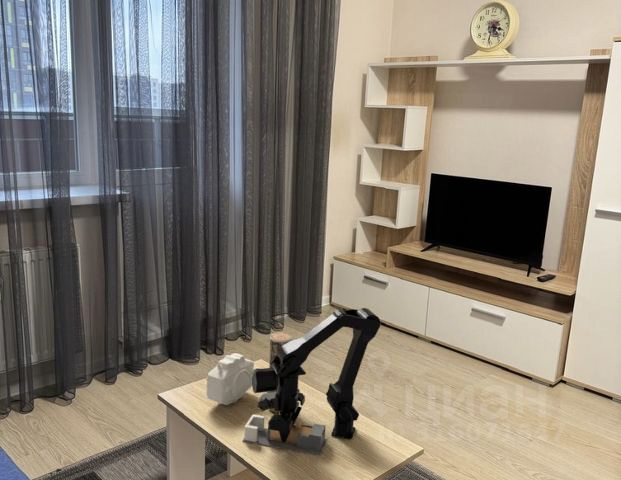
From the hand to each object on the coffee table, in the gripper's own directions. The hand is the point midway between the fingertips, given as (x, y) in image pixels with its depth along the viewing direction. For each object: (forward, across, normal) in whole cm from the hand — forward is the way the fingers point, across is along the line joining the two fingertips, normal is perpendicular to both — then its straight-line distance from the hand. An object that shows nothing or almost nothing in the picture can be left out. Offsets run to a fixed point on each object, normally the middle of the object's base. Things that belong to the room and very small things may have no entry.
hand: (286, 436), depth 173 cm
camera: (+2, -18, -24) cm, 29 cm away
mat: (+1, 0, 0) cm, 1 cm away
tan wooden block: (+1, 0, +2) cm, 3 cm away
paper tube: (+2, -18, -8) cm, 19 cm away
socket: (+1, 0, -10) cm, 10 cm away
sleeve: (+1, 0, +8) cm, 8 cm away
